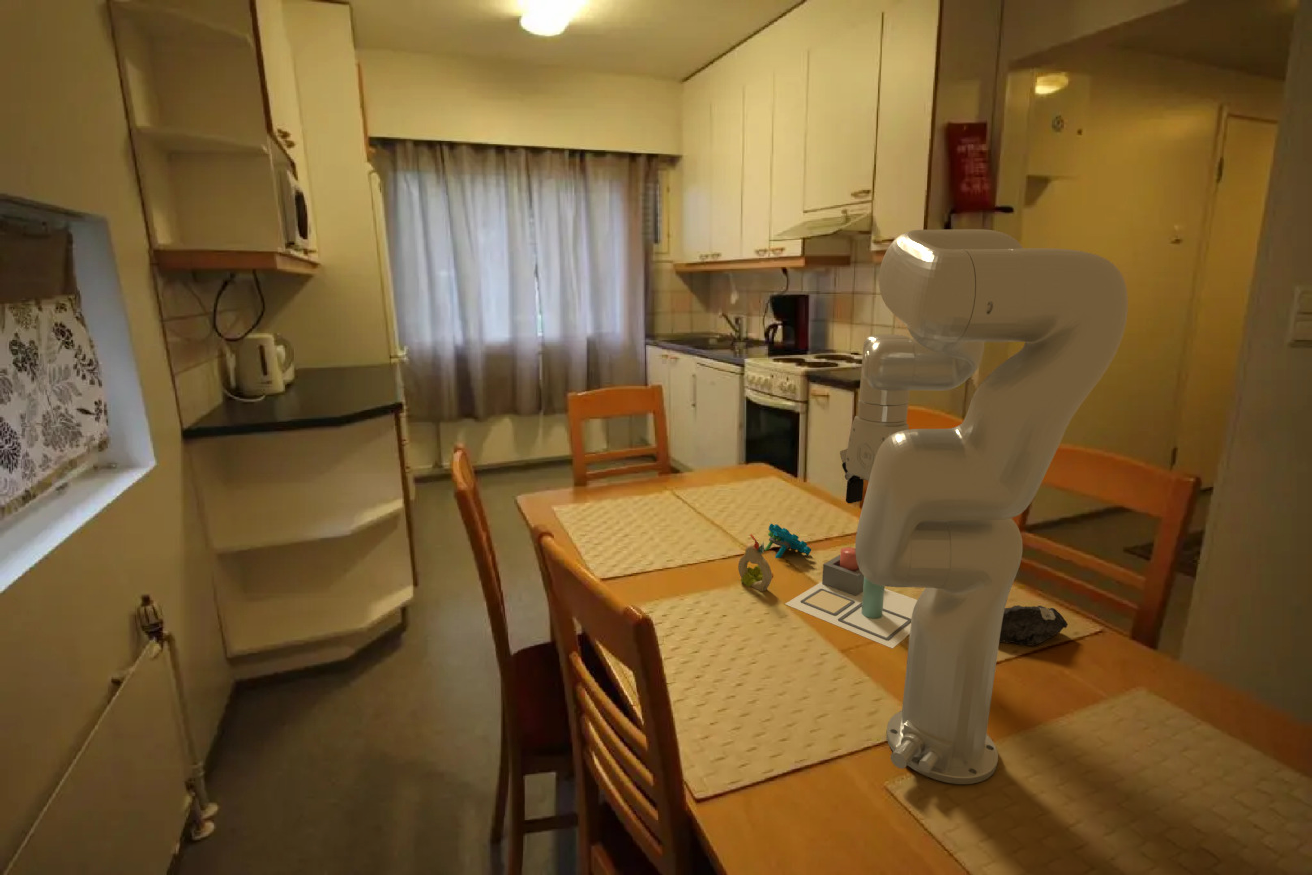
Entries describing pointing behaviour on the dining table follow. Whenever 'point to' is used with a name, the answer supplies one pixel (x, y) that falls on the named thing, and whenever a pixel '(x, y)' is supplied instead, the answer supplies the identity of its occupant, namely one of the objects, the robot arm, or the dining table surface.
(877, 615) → the cylinder
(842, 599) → the cream board with squares
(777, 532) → the toy dinosaur
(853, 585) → the button collar
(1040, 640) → the rock
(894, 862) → the dining table surface
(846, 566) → the button
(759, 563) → the grey ring ornament
